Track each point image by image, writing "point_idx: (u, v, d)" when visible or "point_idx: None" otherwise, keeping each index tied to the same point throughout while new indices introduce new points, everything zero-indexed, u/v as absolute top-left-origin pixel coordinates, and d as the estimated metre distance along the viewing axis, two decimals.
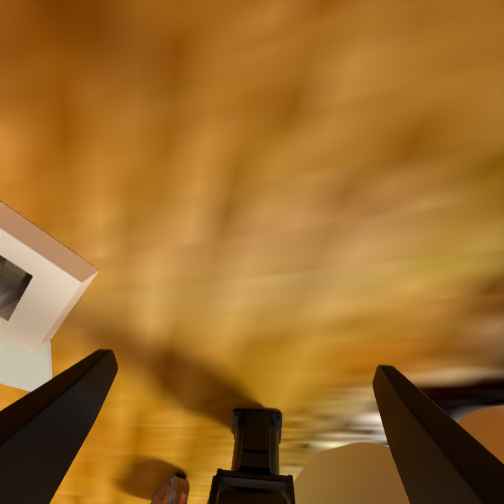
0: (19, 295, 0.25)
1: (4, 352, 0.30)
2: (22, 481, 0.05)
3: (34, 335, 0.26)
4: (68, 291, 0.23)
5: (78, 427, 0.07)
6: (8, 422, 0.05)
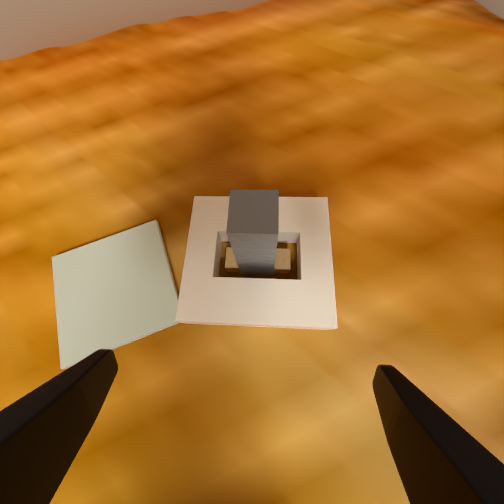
0: (248, 273, 0.22)
1: (125, 283, 0.23)
2: (22, 481, 0.05)
3: (212, 310, 0.20)
4: (313, 320, 0.19)
5: (78, 427, 0.07)
6: (8, 422, 0.05)
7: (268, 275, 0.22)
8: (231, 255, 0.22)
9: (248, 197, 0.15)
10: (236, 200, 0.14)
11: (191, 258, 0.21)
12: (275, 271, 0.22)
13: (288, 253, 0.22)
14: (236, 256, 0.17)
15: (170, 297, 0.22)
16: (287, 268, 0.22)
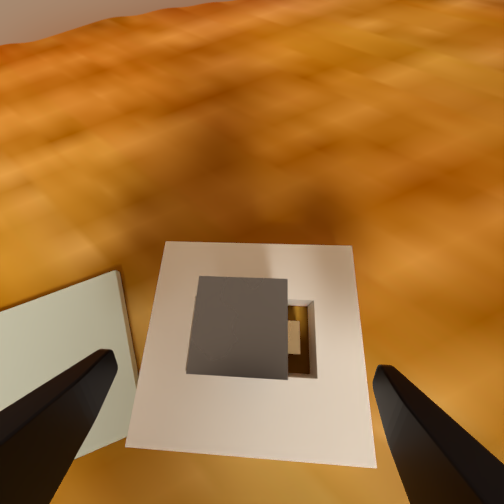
0: None
1: (65, 367, 0.16)
2: (22, 481, 0.05)
3: (182, 429, 0.13)
4: (337, 451, 0.12)
5: (78, 427, 0.07)
6: (8, 422, 0.05)
7: None
8: None
9: (231, 294, 0.08)
10: (209, 299, 0.08)
11: (156, 339, 0.15)
12: None
13: (297, 328, 0.15)
14: None
15: (127, 391, 0.15)
16: (295, 352, 0.15)
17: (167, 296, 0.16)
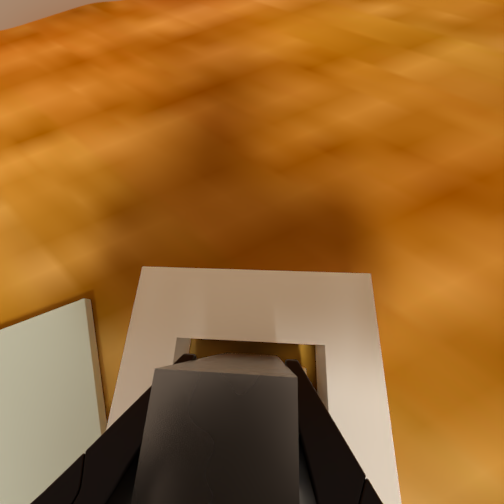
0: None
1: (18, 423, 0.13)
2: None
3: None
4: None
5: None
6: (131, 432, 0.05)
7: None
8: None
9: (205, 404, 0.05)
10: (168, 414, 0.05)
11: (125, 395, 0.12)
12: None
13: None
14: None
15: None
16: None
17: (142, 338, 0.13)
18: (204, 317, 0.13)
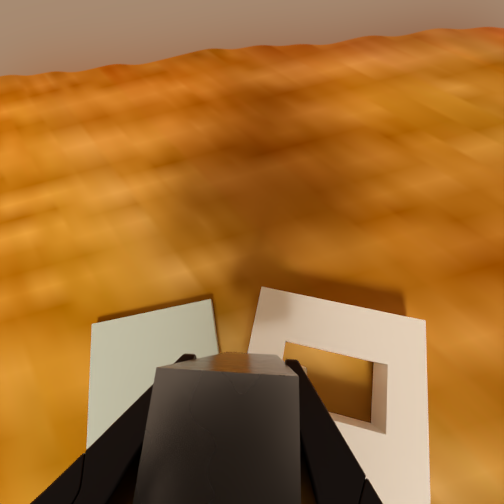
0: None
1: None
2: None
3: None
4: (398, 499, 0.15)
5: None
6: (131, 432, 0.05)
7: None
8: None
9: (206, 402, 0.05)
10: (170, 413, 0.05)
11: None
12: None
13: None
14: None
15: None
16: None
17: (261, 336, 0.19)
18: (305, 330, 0.19)
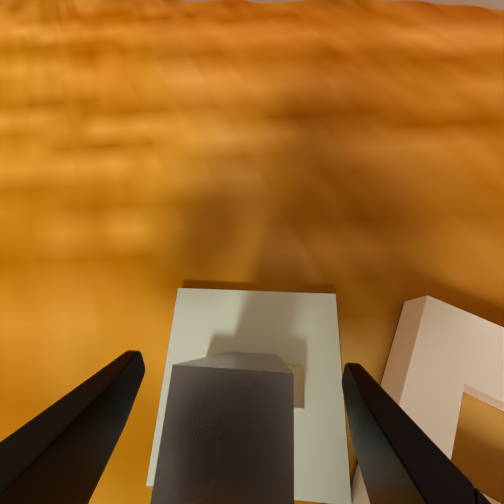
0: None
1: None
2: (63, 485, 0.05)
3: None
4: None
5: (111, 430, 0.07)
6: (49, 425, 0.05)
7: None
8: None
9: (216, 394, 0.06)
10: (184, 403, 0.06)
11: None
12: None
13: (301, 376, 0.13)
14: None
15: (337, 447, 0.13)
16: (299, 406, 0.13)
17: (427, 368, 0.13)
18: (496, 376, 0.12)
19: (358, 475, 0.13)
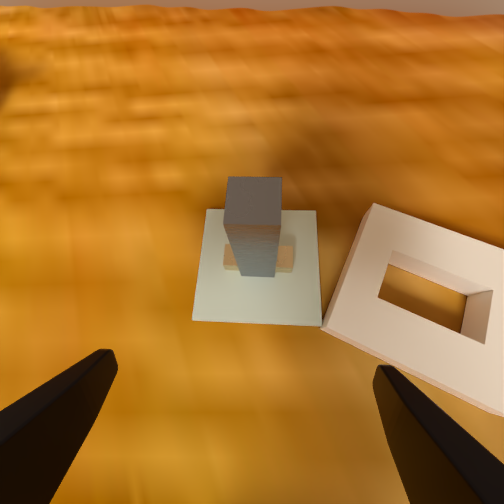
0: (247, 271, 0.20)
1: None
2: (22, 481, 0.05)
3: (369, 333, 0.18)
4: (491, 398, 0.16)
5: (78, 427, 0.07)
6: (8, 422, 0.05)
7: (269, 274, 0.21)
8: (230, 252, 0.21)
9: (248, 185, 0.13)
10: (235, 188, 0.13)
11: (357, 268, 0.19)
12: (276, 270, 0.21)
13: (291, 250, 0.21)
14: (234, 252, 0.16)
15: (314, 296, 0.21)
16: (289, 266, 0.20)
17: (370, 242, 0.20)
18: (412, 245, 0.20)
19: (327, 311, 0.20)
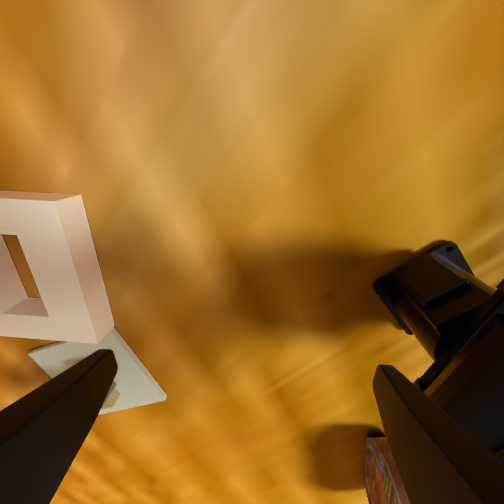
0: None
1: None
2: (22, 481, 0.05)
3: (79, 317, 0.20)
4: (55, 226, 0.17)
5: (78, 427, 0.07)
6: (8, 422, 0.05)
7: None
8: None
9: None
10: None
11: (39, 334, 0.22)
12: None
13: None
14: None
15: None
16: None
17: (11, 329, 0.22)
18: None
19: None
